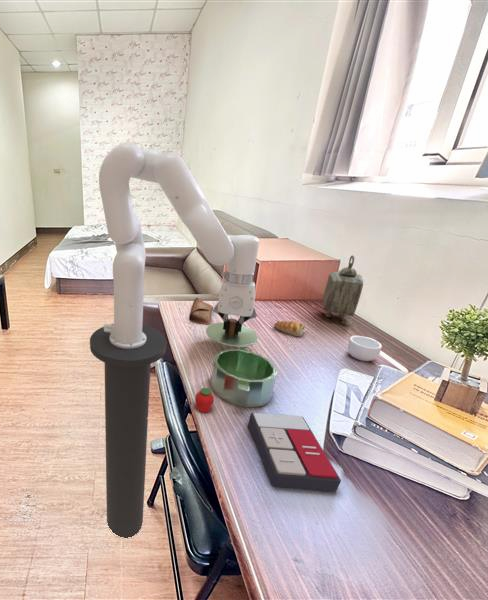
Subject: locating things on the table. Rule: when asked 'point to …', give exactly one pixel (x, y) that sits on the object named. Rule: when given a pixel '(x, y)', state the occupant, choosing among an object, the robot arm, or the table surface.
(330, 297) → the tabletop clock
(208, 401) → the strawberry
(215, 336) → the lid
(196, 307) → the sunglasses case
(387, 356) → the table surface
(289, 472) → the calculator
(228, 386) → the tin
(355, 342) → the teacup
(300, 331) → the pastry
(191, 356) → the table surface
